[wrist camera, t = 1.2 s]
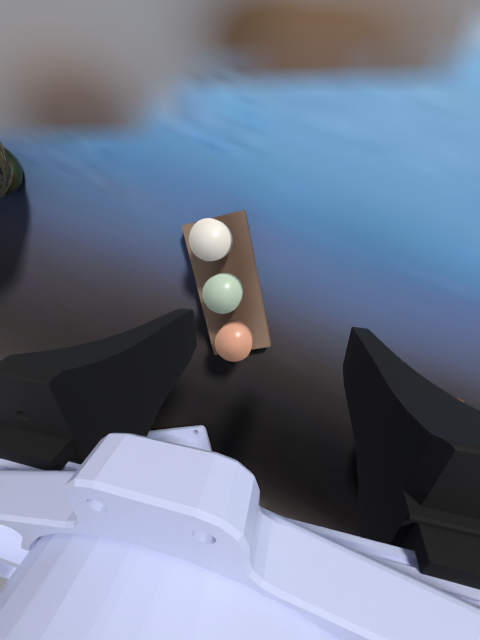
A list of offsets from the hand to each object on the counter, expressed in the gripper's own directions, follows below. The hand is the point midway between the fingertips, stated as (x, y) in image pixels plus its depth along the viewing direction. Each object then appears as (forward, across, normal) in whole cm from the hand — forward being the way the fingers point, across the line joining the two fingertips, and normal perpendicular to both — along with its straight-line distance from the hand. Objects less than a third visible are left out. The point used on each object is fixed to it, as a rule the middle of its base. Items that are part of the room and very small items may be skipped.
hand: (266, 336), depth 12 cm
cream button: (+9, +5, -2) cm, 10 cm away
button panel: (+10, +5, +2) cm, 11 cm away
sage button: (+8, +4, +1) cm, 9 cm away
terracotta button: (+7, +3, +5) cm, 9 cm away
